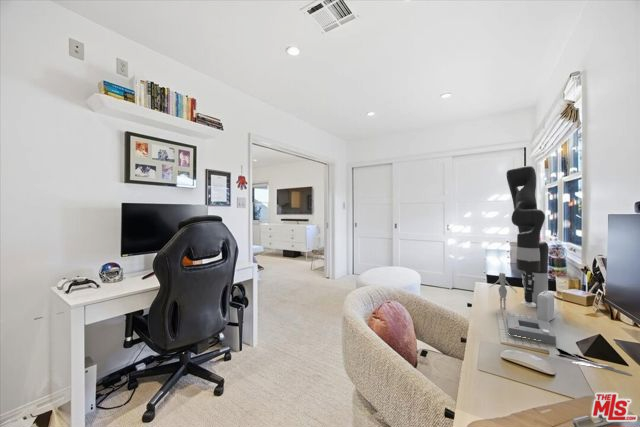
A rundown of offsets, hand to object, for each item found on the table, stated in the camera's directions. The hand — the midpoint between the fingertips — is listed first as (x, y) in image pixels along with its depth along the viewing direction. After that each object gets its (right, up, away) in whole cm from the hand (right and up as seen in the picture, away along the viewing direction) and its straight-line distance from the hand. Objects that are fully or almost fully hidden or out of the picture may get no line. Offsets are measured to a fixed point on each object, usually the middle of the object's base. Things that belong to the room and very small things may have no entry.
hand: (528, 300), depth 106 cm
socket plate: (0, -12, 0) cm, 12 cm away
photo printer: (+18, -13, +13) cm, 26 cm away
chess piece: (0, -2, 0) cm, 2 cm away
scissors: (+1, -13, -21) cm, 25 cm away
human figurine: (+8, -13, +26) cm, 30 cm away
